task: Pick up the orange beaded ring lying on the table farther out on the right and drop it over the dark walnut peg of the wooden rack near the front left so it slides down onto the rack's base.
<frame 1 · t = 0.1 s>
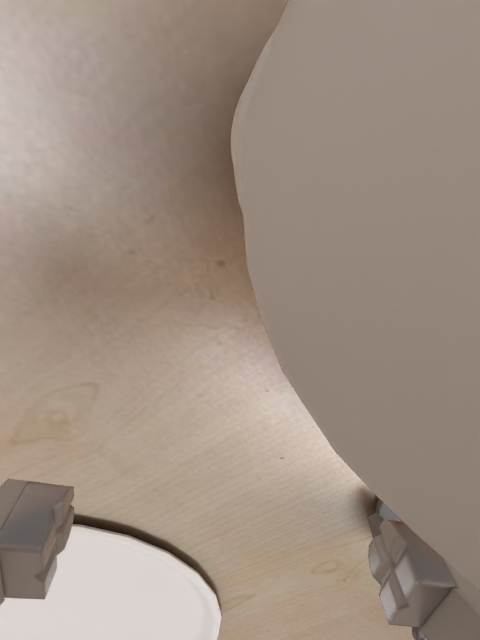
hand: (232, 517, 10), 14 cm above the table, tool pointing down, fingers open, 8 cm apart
plate: (72, 608, 37), on the table
pocket watch: (398, 500, 31), on the table
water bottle: (303, 139, 18), on the table
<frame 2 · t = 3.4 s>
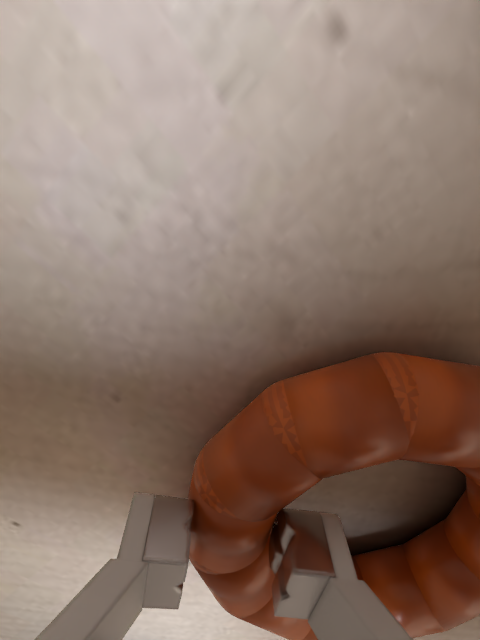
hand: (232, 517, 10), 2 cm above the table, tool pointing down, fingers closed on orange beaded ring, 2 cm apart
orange beaded ring: (370, 518, 11), point 1 cm above the table, touching gripper
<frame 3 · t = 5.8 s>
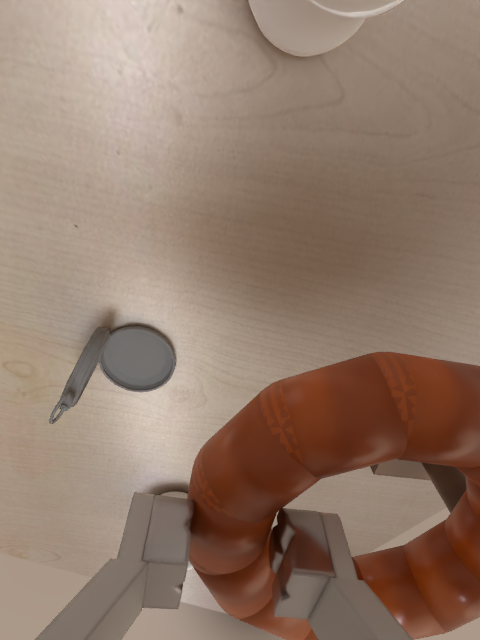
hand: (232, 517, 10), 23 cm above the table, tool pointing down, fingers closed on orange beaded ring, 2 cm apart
rack: (423, 437, 40), on the table
pocket watch: (128, 347, 34), on the table
orange beaded ring: (370, 519, 11), point 22 cm above the table, touching gripper
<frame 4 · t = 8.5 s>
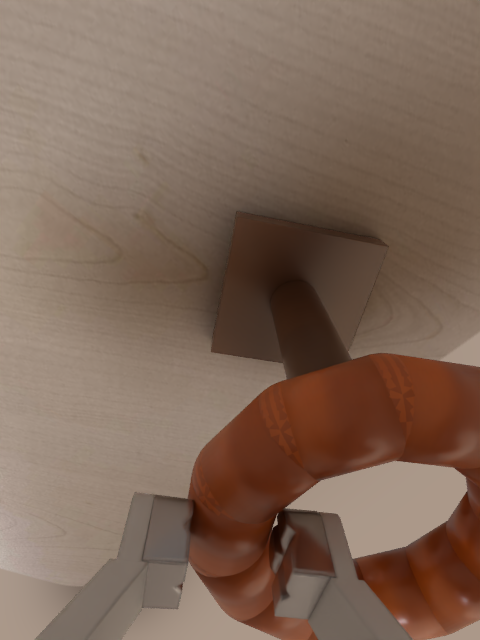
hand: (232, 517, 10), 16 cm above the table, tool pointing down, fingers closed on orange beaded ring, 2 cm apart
rack: (290, 293, 25), on the table
orange beaded ring: (371, 520, 11), point 16 cm above the table, touching gripper
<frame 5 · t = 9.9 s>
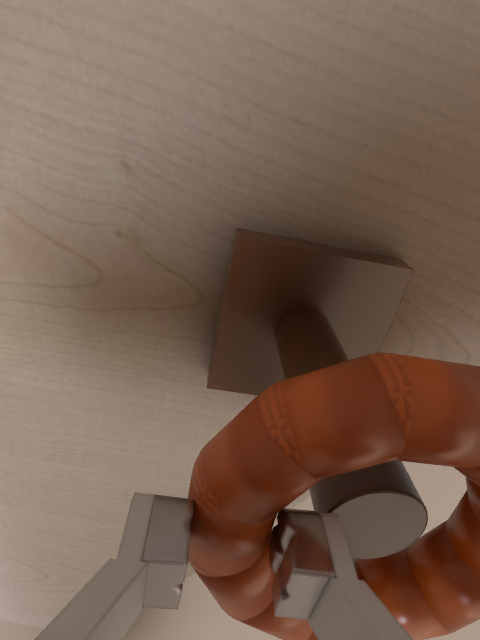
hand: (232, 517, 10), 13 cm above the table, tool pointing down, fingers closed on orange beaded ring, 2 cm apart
rack: (298, 320, 22), on the table
orange beaded ring: (370, 520, 11), point 12 cm above the table, touching gripper
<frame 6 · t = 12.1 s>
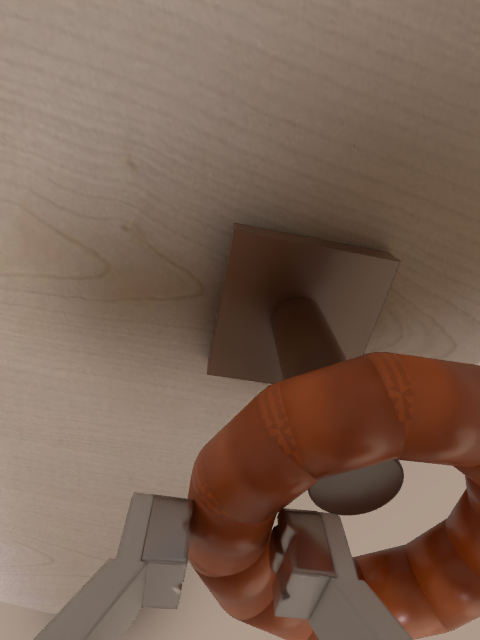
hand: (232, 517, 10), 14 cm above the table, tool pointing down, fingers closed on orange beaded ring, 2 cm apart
rack: (293, 310, 23), on the table
orange beaded ring: (370, 519, 11), point 14 cm above the table, touching gripper
when the fingers open (14 cm above the table, at t = 13.9 s): orange beaded ring drops 11 cm, resting on rack.
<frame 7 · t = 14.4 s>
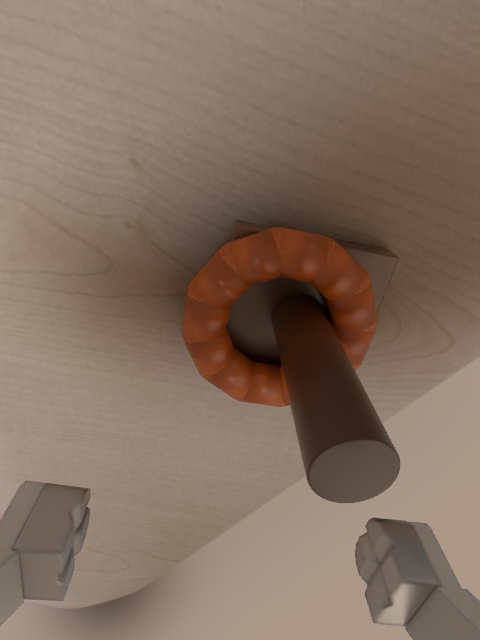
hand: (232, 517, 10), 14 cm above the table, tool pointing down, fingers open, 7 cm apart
rack: (293, 306, 23), on the table
orange beaded ring: (278, 325, 21), point 3 cm above the table, touching rack
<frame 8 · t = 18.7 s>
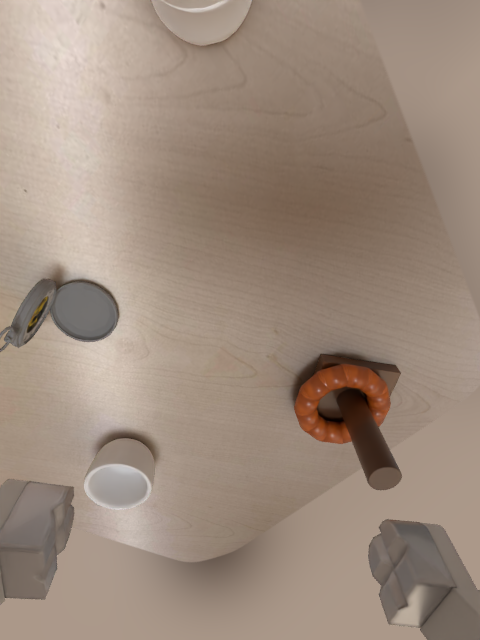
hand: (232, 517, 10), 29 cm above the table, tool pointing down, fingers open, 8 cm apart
rack: (346, 391, 45), on the table
pocket watch: (77, 302, 39), on the table
orange beaded ring: (342, 405, 42), point 3 cm above the table, touching rack
teacup: (124, 455, 49), on the table
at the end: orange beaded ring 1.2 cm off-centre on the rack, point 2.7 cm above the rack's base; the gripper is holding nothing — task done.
